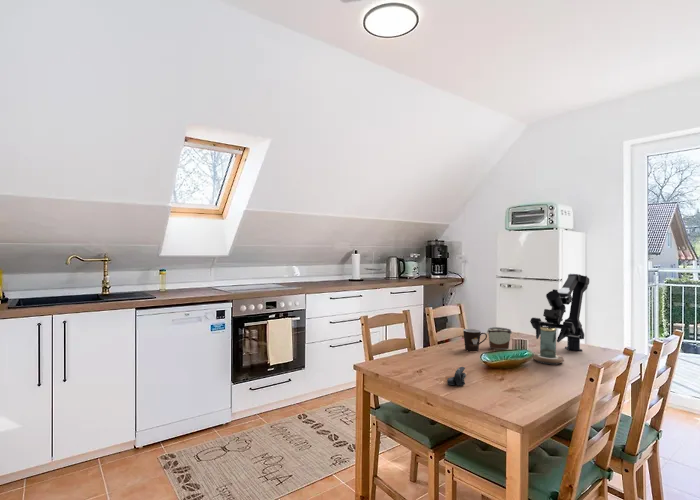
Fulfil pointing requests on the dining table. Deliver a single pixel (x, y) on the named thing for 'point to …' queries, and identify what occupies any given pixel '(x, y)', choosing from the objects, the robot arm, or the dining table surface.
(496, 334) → the food container
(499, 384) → the dining table surface
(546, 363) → the turntable base
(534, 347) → the dining table surface
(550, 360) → the turntable
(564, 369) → the dining table surface
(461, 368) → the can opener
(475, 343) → the coffee mug
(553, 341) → the tea tin
